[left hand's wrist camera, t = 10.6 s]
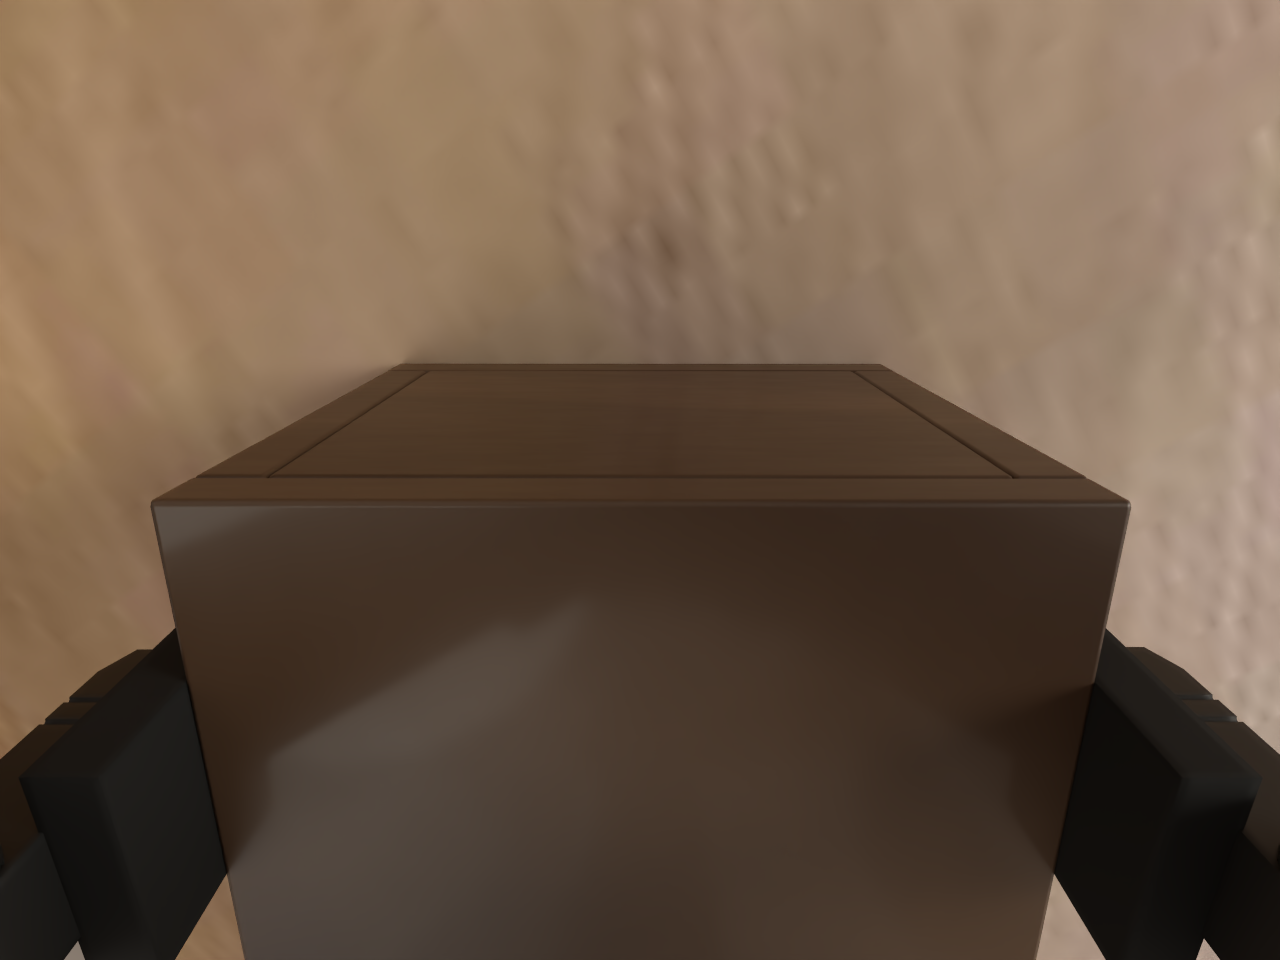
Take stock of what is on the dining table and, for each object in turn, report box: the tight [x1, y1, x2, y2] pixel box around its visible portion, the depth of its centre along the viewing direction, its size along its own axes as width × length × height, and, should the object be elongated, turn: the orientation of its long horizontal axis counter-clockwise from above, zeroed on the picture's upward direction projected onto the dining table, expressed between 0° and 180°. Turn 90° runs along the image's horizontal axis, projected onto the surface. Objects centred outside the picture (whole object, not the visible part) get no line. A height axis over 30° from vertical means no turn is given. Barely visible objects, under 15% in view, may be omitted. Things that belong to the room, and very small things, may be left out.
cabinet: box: [151, 364, 1131, 960], centre depth 15 cm, size 17×10×9 cm, turn 0°
